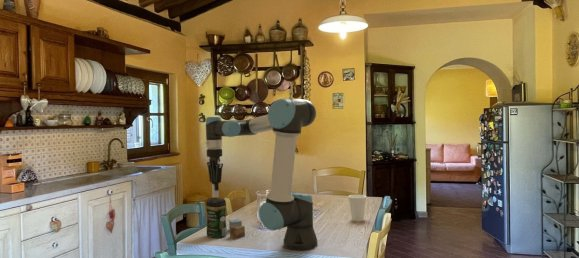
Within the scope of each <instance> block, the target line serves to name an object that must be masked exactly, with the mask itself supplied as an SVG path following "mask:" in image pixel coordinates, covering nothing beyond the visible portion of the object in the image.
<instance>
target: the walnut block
mask: <svg viewBox="0 0 579 258" xmlns="http://www.w3.org/2000/svg"><path fill="white" fill-rule="evenodd" d="M229 237H230V238H231V239H236V240H239V239H241V238H242V239H243V238H244V237H246V229H245V225H242V226H241V225H235V226H232V227H230V230H229Z"/></svg>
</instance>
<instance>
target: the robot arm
mask: <svg viewBox="0 0 579 258" xmlns="http://www.w3.org/2000/svg"><path fill="white" fill-rule="evenodd" d="M316 117H317V109H316V107H315V105H314V104H313V103H312V102H311V101H310V100H307V99H305V98H304V99H302V98H279V99H276V100H275V101H274V102H272V104H271V105H270V106H269V108H268V113H267V114H265V115H261V116H258V117H253V118H248V119H243V120H241V119H240V120H239V119H237V120H235V119H234V120H233V119H228V120H222V117H221V116H208V117H206V118H205V124H204V125H205V140H206V141H205V145H206V157H207V158H209V159H208V161H207V162H206V166H207V169H208V170H207V171H208V178H209V182H210V183H211V188H212V189H211V192H212V197H211V198H219V197H220V190H219V188H220V187H219V185H220V183H221V182H222V175H223V174H222V173H223V167H224V164H223V163H222V162H221V159H220V158H221V157H222V156H223V149H222V148H223V137H225V138H226V137H228V138H233V137H241V136H254V135H256V136H257V135H258V134H261V133H263V132H268V131H269V132H271V131H272V133H274V134H275V137H274V138H275V139H274V151H273V162H272V172H271V182H270V192H268V193H267V194H266V196H265V202H263V203H262V204H261V205H260V206H259V210H258V215H259V219H260V222H261V223H262V225H263V226H264V227H265V228H266V229H267V230H270V231H277V230H278V231H280V230H282V229H284V228H286V229H285V230H286V231H285V234H284V238H283V242H282V244H283V247H284V248H285V249H288V250H292V251H306V250H312V249H315V248H316V247H318V238H317V235H316V233H315V228H314V207H313V205H314V203H313V202H314V201H313V196H312V195H311V194H309V193H303V192H292V189H293V188H292V187H293V176H294V169H295V168H294V167H295V158H296V150H297V149H296V148H297V139H298V137H299V136H300V135H301V133H302V128H303V127H308V126H310V125H312V124H313V123H314V121H315V119H316Z"/></svg>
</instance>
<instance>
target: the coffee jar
mask: <svg viewBox="0 0 579 258" xmlns="http://www.w3.org/2000/svg"><path fill="white" fill-rule="evenodd" d="M205 202H206V203H205V208H206V209H205V210H206V236H207V237H209V238H214V239H219V238H224V237H226V236H227V235H228V229H227V219H226V218H227V217H226V209H227V201H226V199H225V198H221V197H220V198H219V197H211V198H207V199H206V201H205Z"/></svg>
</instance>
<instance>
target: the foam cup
mask: <svg viewBox="0 0 579 258" xmlns="http://www.w3.org/2000/svg"><path fill="white" fill-rule="evenodd" d="M348 201H349V203H348V204H349V210H350V216H351V220H352V221H353V222H363V221H364V219H365V211H366V202H367V196H366V194H365V195H363V194H349V195H348Z"/></svg>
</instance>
